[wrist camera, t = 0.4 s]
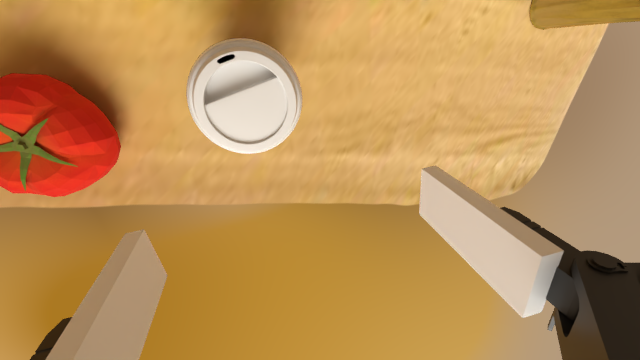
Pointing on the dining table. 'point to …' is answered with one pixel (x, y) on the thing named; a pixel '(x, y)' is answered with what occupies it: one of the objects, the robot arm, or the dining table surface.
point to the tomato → (51, 137)
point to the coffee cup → (244, 95)
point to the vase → (582, 12)
